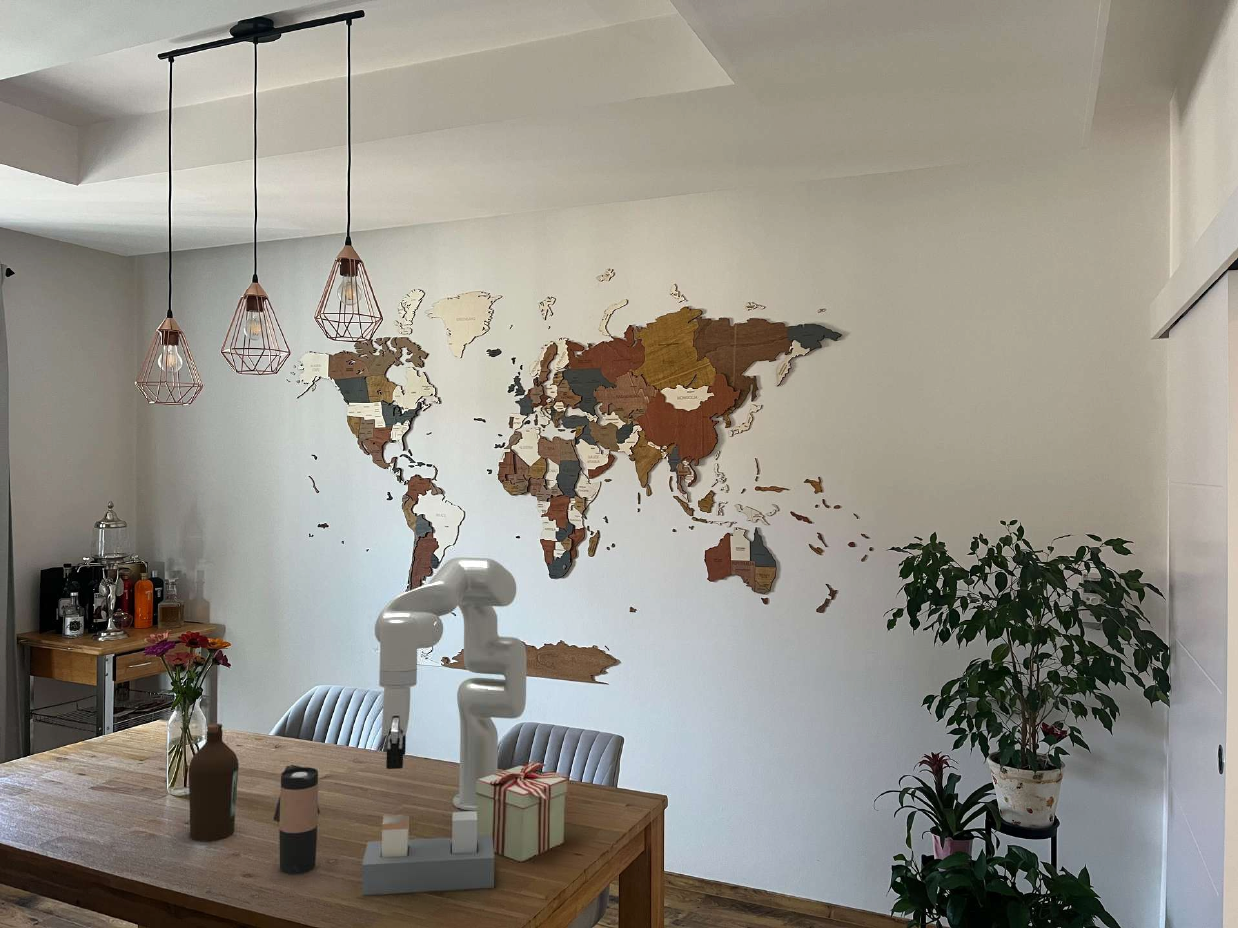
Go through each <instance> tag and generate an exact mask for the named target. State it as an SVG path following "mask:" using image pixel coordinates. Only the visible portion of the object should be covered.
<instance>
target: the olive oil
mask: <svg viewBox="0 0 1238 928" xmlns="http://www.w3.org/2000/svg"><path fill="white" fill-rule="evenodd" d="M206 728H207V730H206V741H205V743H204V744H203V745H202V746H201V747H200V748H199V749H198V751H197V752H196V753H194V755H193V757H192V758H191V760H190V762H189V765H188V771H187V772H188V793H189V795H188V796H189V837H190V839H191V840H193V841H197V842H213V841H214V842H215V841H219V840H223V839H227V838H228V837H230V836H231V835H233V833H234V832H235V826H236V825H235V824H236V822H235V820H236V809H237V796H238V795H237V792H238V778H239V766H240V765H239V760H238V757H237V753H235V751H234V750H233V749H232V748H231V747H229V745H227V744H226V743H225V742H224V741H223V729H222V728H223V724H222V723H210V724H208V725H207V727H206Z"/></svg>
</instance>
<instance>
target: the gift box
mask: <svg viewBox="0 0 1238 928" xmlns="http://www.w3.org/2000/svg"><path fill="white" fill-rule="evenodd" d="M545 766H546V764H544V763H540V762H532V761H530V762H528V763H527V764H526V765H525V766H523V765H517V766H515V767H512V768H508V769H506V770H502V771H500V772H497V773H496V774H493V775H490V776H487V777H484V778H481V779H478V780H476V794H477V836H492V839H493V849H494V854H495V853H496V854H499V855H501V856H505V857H507V858H509V859H512V860H514V861H517V862H519V861H520V863H523V862H525V861H527V860H529V858H530V859H532V858H534V857H535V856H534V855H536V856H538V855H537V854H539V855H541V854H543V853H544V852H543V851H545V850H548V849H550V848H552V847H554V846H556V845H559V846H560V844H561V843H563V844H564V835H565V834H564V833H565V805H566V804H565V801H566V793H567V792H568V779H567V778H571V776H569V775H564V774H562V773H559V772H554V771H541V770H538V769H540V768H542V767H545ZM561 845H562V844H561ZM556 847H557V846H556ZM554 848H555V847H554ZM552 849H553V848H552ZM550 850H551V849H550ZM548 851H549V850H548ZM542 852H543V853H542ZM545 852H546V851H545ZM540 853H541V854H540ZM533 856H534V857H533ZM531 857H532V858H531ZM522 861H523V862H522Z"/></svg>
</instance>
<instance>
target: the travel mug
mask: <svg viewBox="0 0 1238 928" xmlns="http://www.w3.org/2000/svg"><path fill="white" fill-rule="evenodd" d="M279 794H280V795H279V797H280V821H279V827H278V828H279V829H278V831H279V870H280V872H282V873H283V874H287V875H300V874H304V873H308V872H310V871H312V870H314V869H315V867H316V860H317V859H316V858H317V841H318V839H317V837H318V818H319V817H318V816H319V814H318V807H319V804H318V803H319V800H318V799H319V798H318V796H319V771H318V769H316V768H314V767H309V766H308V767H307V766H303V767H302V766H299V768H292V769H288V770H286V771H285V770H283V772H281V774H280V793H279Z"/></svg>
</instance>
